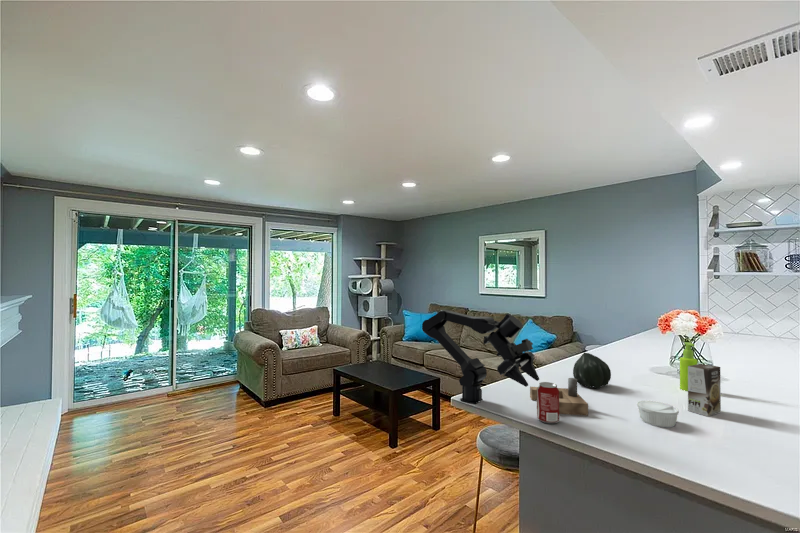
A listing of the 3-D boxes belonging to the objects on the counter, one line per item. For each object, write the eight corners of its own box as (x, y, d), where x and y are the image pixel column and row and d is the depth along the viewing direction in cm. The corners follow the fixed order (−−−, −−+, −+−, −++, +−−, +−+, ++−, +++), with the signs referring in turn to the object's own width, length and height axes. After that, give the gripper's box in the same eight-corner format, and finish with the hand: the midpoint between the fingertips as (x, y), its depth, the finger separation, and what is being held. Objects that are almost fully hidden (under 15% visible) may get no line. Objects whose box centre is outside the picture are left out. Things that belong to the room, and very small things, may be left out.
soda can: (561, 426, 119) (561, 388, 120) (539, 424, 121) (539, 386, 121) (556, 418, 126) (556, 382, 126) (535, 416, 127) (535, 380, 127)
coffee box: (708, 417, 128) (708, 369, 128) (687, 410, 133) (686, 365, 134) (721, 412, 132) (721, 366, 132) (700, 406, 138) (700, 362, 138)
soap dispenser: (683, 391, 155) (682, 343, 156) (678, 387, 162) (677, 340, 162) (700, 393, 153) (700, 344, 154) (694, 388, 160) (694, 341, 160)
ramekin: (680, 432, 115) (680, 415, 115) (637, 424, 121) (637, 408, 121) (676, 420, 125) (676, 404, 125) (637, 413, 131) (637, 398, 131)
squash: (624, 375, 159) (599, 345, 167) (606, 382, 150) (581, 350, 159) (599, 391, 168) (577, 362, 176) (581, 399, 159) (559, 367, 168)
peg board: (539, 412, 131) (539, 383, 131) (530, 396, 148) (530, 371, 148) (587, 415, 128) (587, 386, 128) (573, 399, 145) (573, 373, 145)
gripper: (505, 334, 124) (538, 374, 116) (528, 329, 138) (560, 364, 130) (484, 355, 129) (514, 394, 121) (508, 347, 143) (537, 382, 135)
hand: (533, 383), depth 127 cm, fingers open, 9 cm apart
